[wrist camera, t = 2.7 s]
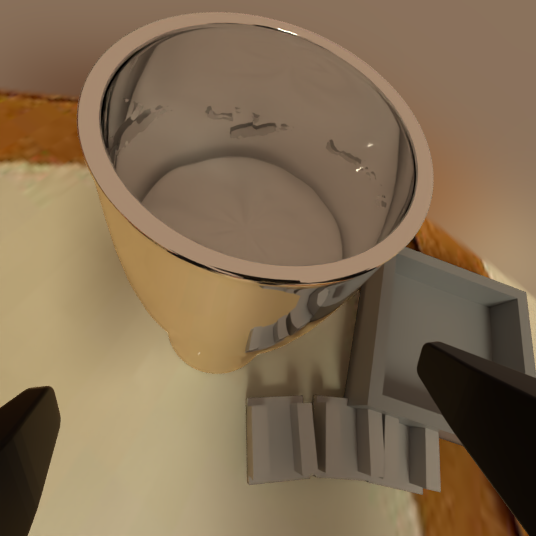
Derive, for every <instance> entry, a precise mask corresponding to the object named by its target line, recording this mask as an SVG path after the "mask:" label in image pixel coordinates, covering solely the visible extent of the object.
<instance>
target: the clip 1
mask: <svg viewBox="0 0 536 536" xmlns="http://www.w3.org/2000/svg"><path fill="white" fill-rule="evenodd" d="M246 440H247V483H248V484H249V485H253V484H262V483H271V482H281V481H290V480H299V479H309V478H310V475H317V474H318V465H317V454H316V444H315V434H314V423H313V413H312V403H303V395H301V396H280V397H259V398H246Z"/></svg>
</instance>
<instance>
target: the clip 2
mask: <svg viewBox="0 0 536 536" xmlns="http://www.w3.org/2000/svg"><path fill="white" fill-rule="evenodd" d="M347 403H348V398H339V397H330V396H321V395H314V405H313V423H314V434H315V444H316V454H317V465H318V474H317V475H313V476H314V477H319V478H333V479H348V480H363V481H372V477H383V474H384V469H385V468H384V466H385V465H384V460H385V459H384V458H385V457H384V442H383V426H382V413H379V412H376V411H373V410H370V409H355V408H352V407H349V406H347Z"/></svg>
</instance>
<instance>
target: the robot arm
mask: <svg viewBox="0 0 536 536" xmlns="http://www.w3.org/2000/svg"><path fill="white" fill-rule="evenodd" d="M417 373H418V376H419V378H420V379H421V381H422V383H423V384H424V386H425V388H426V389H427V391H428V392H429V394H430V396H431V397H432V399H433V401H434V402H435V404H436V406H437V407H438V409H439V410H440V412H441V414H442V415H443V417H444V419H445V420H446V422H447V423H448V425H449V426H450V428H451V429H452V431H453V432H454V434H455V435H456V436H457V438H458V439H459V441H460V442H461V443H462V445H463V446H464V447H465V449H466V450H467V452H468V453H469V454H470V456H471V457H472V458H473V460H474V461H475V462H476V464H477V465H478V467H479V468H480V469H481V471H482V472H483V473H484V475H485V476H486V478H487V479H488V480H489V482H490V483H491V484H492V486H493V487H494V488H495V490H496V491H497V493H498V494H499V495H500V497H501V498H502V499H503V501H504V502H505V504H506V505H507V506H508V508H509V509H510V510H511V512H512V513H513V514H514V516H515V517H516V519H517V520H518V521H519V523H520V524H521V525H522V527H523V528H524V530H525V531H526V532H527V534H528V535H529V536H536V378H535V377H532V376H529V375H527V374H524V373H521V372H519V371H516V370H514V369H511V368H508V367H506V366H503V365H500V364H498V363H495V362H493V361H490V360H487V359H485V358H482V357H479V356H477V355H474V354H472V353H469V352H466V351H464V350H461V349H458V348H456V347H453V346H451V345H448V344H445V343H443V342H439V341H436V342H427V343H425V344H424V345H423V347H422V349H421V353H420V356H419V360H418V363H417ZM60 422H61V418H60V412H59V408H58V404H57V400H56V396H55V392H54V390H53V388H52V387H50V386H43V387H34V388H28V389H26V390H24V391H23V392H22V393H20V394H19V395H17V396H16V397H15V398H13V399H12V400H10V401H9V402H8V403H6V404H5V405H3V406H2V407H1V408H0V536H28V533H29V531H30V528H31V525H32V523H33V520H34V517H35V514H36V511H37V508H38V505H39V502H40V498H41V495H42V491H43V488H44V484H45V480H46V476H47V473H48V469H49V465H50V462H51V458H52V454H53V451H54V447H55V443H56V440H57V436H58V432H59V428H60Z"/></svg>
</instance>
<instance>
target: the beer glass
mask: <svg viewBox="0 0 536 536" xmlns="http://www.w3.org/2000/svg"><path fill="white" fill-rule="evenodd" d="M77 131H78V138H79V143H80V147H81V151H82V155H83V157H84V160H85V163H86V165H87V168H88V170H89V172H90V174H91V176H92V178H93V180H94V182H95V185H96V188H97V192H98V195H99V199H100V202H101V206H102V209H103V213H104V216H105V220H106V223H107V226H108V229H109V232H110V235H111V238H112V241H113V244H114V247H115V250H116V253H117V255H118V258H119V260H120V262H121V265H122V267H123V269H124V272H125V274H126V276H127V279H128V281H129V283H130V285H131V287H132V288H133V290H134V292H135V293H136V295H137V296H138V298H139V300H140V301H141V303H142V304H143V306H144V307H145V309H146V310H147V312H148V313H149V314H150V316H151V317H152V318H153V319H154V320H155V321H156V322H157V323H158V324H159V325H160V326H161V327H162V328H163V329H164V330H165V331H167V332H168V336H169V340H170V343H171V345H172V347H173V349H174V351H175V352H176V354H177V355H178V356H179V357H180V358H181V359H182V360H183V361H184V362H185V363H186V364H188V365H189V366H191V367H192V368H194V369H196V370H199V371H202V372H205V373H212V374H222V373H229V372H232V371H235V370H238V369H240V368H242V367H243V366H245V365H246V364H248V363H249V362H250V361H251V360H253V359H254V358H255V357H256V355H257V354H262V353H266V352H269V351H272V350H275V349H278V348H280V347H282V346H284V345H286V344H288V343H290V342H292V341H294V340H295V339H297V338H299V337H301V336H302V335H304V334H306V333H307V332H309V331H311V330H312V329H313V328H315V327H316V326H317V325H318V324H320V323H321V322H322V321H324V320H325V319H326V318H327V317H329V316H330V315H331V314H332V313H334V312H335V311H336V310H337V309H338V308H339V307H340V306H341V305H343V304H344V303H345V302H346V301H347V300H348V299H349V298H350V297H351V296H352V295H353V294H354V293H355V292H356V291H357V290H358V289H359V288H360V287H361V286H362V285H363V284H364V283H365V282H366V281H367V280H368V279H369V278H370V277H371V276H372V275H373V274H374V273H375V272H376V271H377V270H378V269H379V268H380V267H381V266H382V265H383V264H385V263H386V262H388V261H389V260H391V259H392V258H393V257H395V256H396V255H397V254H398V253H399V252H401V251H402V250H403V249H404V248H405V247H406V246H407V245H408V244H409V242H410V241H411V240H412V239H413V237H414V236H415V235H416V233H417V232H418V230H419V229H420V227H421V225H422V223H423V222H424V219H425V217H426V215H427V212H428V210H429V206H430V202H431V198H432V191H433V166H432V160H431V155H430V150H429V147H428V144H427V141H426V138H425V136H424V133H423V131H422V129H421V127H420V125H419V123H418V121H417V119H416V118H415V116H414V114H413V113H412V111H411V110H410V108H409V107H408V105H407V104H406V103H405V101H404V100H403V99H402V97H401V96H400V95H399V94H398V93H397V92H396V90H395V89H394V88H393V87H392V86H391V85H390V84H389V83H388V82H387V81H386V80H385V79H384V78H383V77H382V76H381V75H380V74H379V73H377V72H376V71H375V70H374V69H373V68H371V67H370V66H369V65H367V64H366V63H365V62H364V61H362V60H361V59H359V58H358V57H357V56H355V55H354V54H352V53H351V52H349V51H347V50H346V49H344V48H343V47H341V46H339V45H338V44H336V43H334V42H332V41H330V40H328V39H326V38H324V37H322V36H320V35H318V34H315V33H313V32H311V31H308V30H306V29H303V28H300V27H297V26H295V25H291V24H288V23H285V22H282V21H278V20H274V19H270V18H266V17H261V16H255V15H248V14H241V13H228V12H204V13H193V14H186V15H179V16H174V17H169V18H165V19H162V20H158V21H155V22H153V23H150V24H147V25H145V26H142V27H140V28H138V29H136V30H134V31H132V32H131V33H129V34H127V35H125V36H124V37H123V38H121V39H120V40H118V41H117V42H115V43H114V44H113V45H112V46H111V47H109V48H108V49H107V50H106V51H105V52H104V54H103V55H101V57H100V58H99V59H98V60H97V62H96V63H95V64H94V66H93V67H92V69H91V71H90V72H89V74H88V76H87V78H86V80H85V83H84V85H83V87H82V90H81V93H80V97H79V102H78V109H77Z"/></svg>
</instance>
